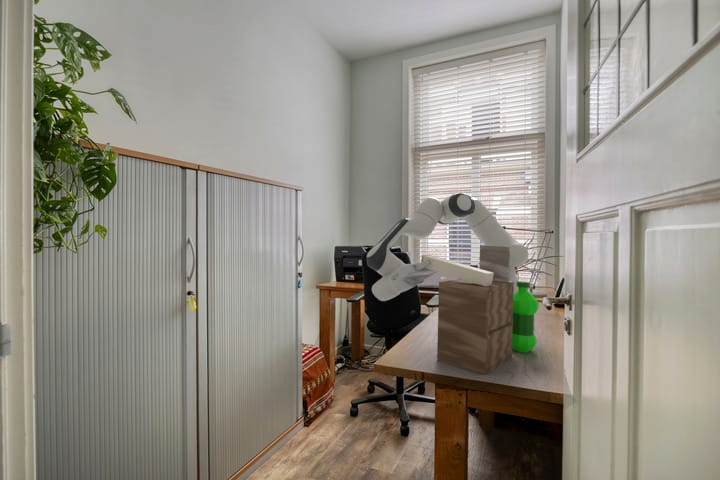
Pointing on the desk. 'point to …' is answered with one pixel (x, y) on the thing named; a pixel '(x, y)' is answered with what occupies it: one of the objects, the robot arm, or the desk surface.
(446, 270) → the white rectangular bar
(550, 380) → the desk surface
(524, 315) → the plastic bottle
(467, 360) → the wood grain block
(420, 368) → the desk surface
